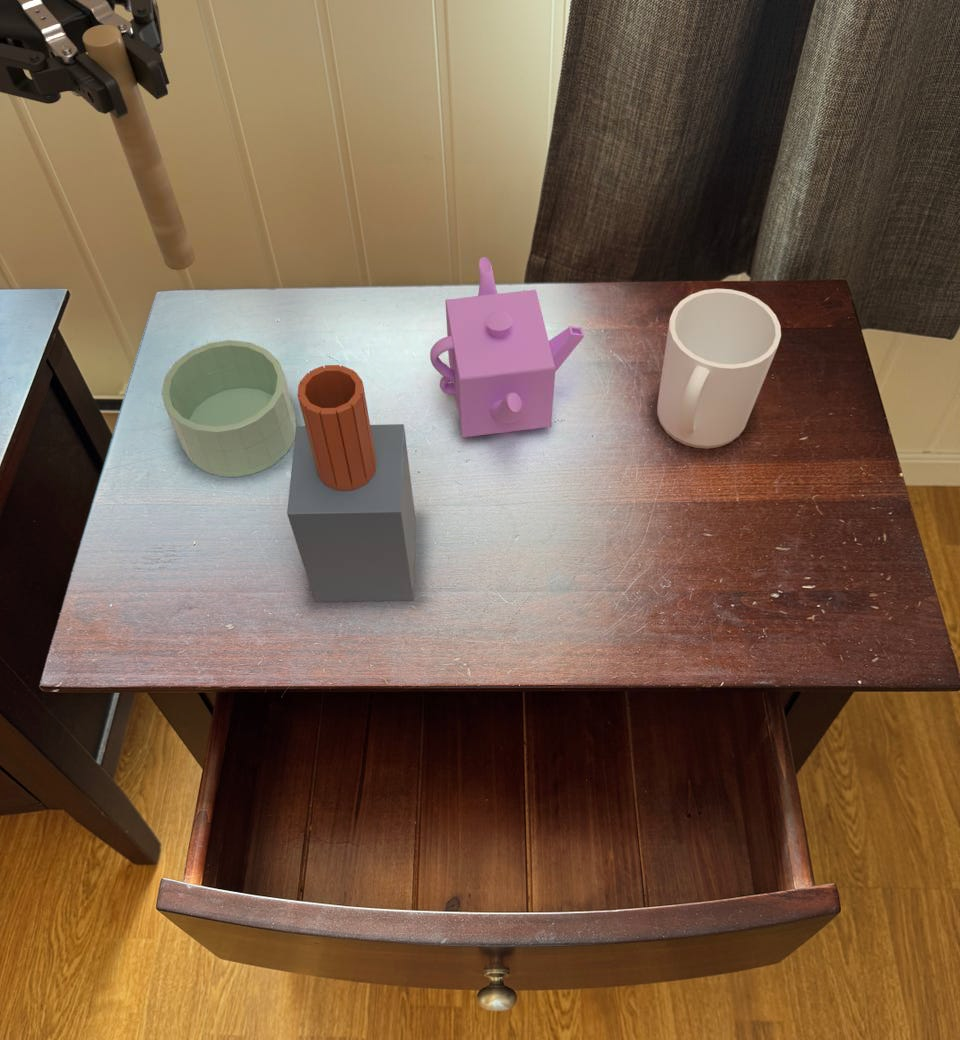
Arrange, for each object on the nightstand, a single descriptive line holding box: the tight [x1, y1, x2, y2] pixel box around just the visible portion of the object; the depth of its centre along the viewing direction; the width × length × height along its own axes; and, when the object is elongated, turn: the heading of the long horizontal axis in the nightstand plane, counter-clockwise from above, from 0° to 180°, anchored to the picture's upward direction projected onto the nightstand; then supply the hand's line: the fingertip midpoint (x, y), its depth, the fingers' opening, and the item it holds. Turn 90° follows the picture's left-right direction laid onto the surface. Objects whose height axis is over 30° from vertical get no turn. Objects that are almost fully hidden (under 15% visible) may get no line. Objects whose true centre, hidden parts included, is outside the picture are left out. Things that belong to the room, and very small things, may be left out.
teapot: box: [429, 256, 585, 438], centre depth 84 cm, size 18×13×10 cm
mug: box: [656, 288, 782, 450], centre depth 82 cm, size 11×9×10 cm
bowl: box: [161, 339, 297, 478], centre depth 84 cm, size 10×10×6 cm
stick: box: [83, 25, 196, 271], centre depth 63 cm, size 2×2×16 cm
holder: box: [286, 364, 417, 603], centre depth 71 cm, size 8×8×20 cm
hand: (138, 90), depth 57 cm, fingers closed on stick, 2 cm apart
